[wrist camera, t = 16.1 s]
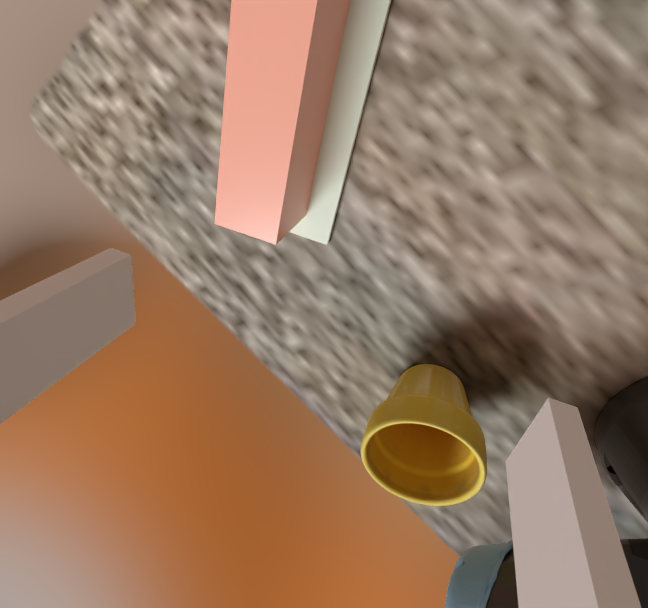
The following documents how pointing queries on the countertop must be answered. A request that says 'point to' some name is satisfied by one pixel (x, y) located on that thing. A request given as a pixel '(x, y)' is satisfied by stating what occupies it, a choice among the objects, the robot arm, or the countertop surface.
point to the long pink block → (275, 110)
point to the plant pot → (426, 440)
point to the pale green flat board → (344, 115)
